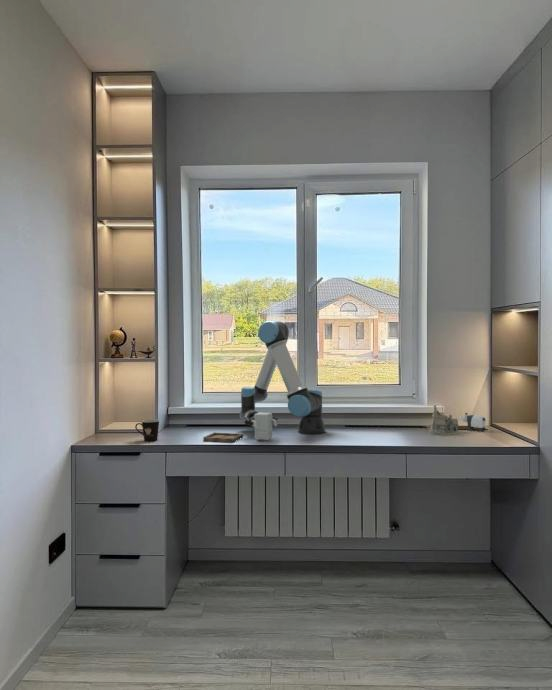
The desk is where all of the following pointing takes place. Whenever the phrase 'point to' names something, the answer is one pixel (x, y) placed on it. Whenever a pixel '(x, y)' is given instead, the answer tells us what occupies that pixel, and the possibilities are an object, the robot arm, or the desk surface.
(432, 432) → the ceramic cottage
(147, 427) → the coffee mug
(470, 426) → the giant panda
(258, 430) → the supplement box
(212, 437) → the walnut tray
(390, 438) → the desk surface
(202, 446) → the desk surface
